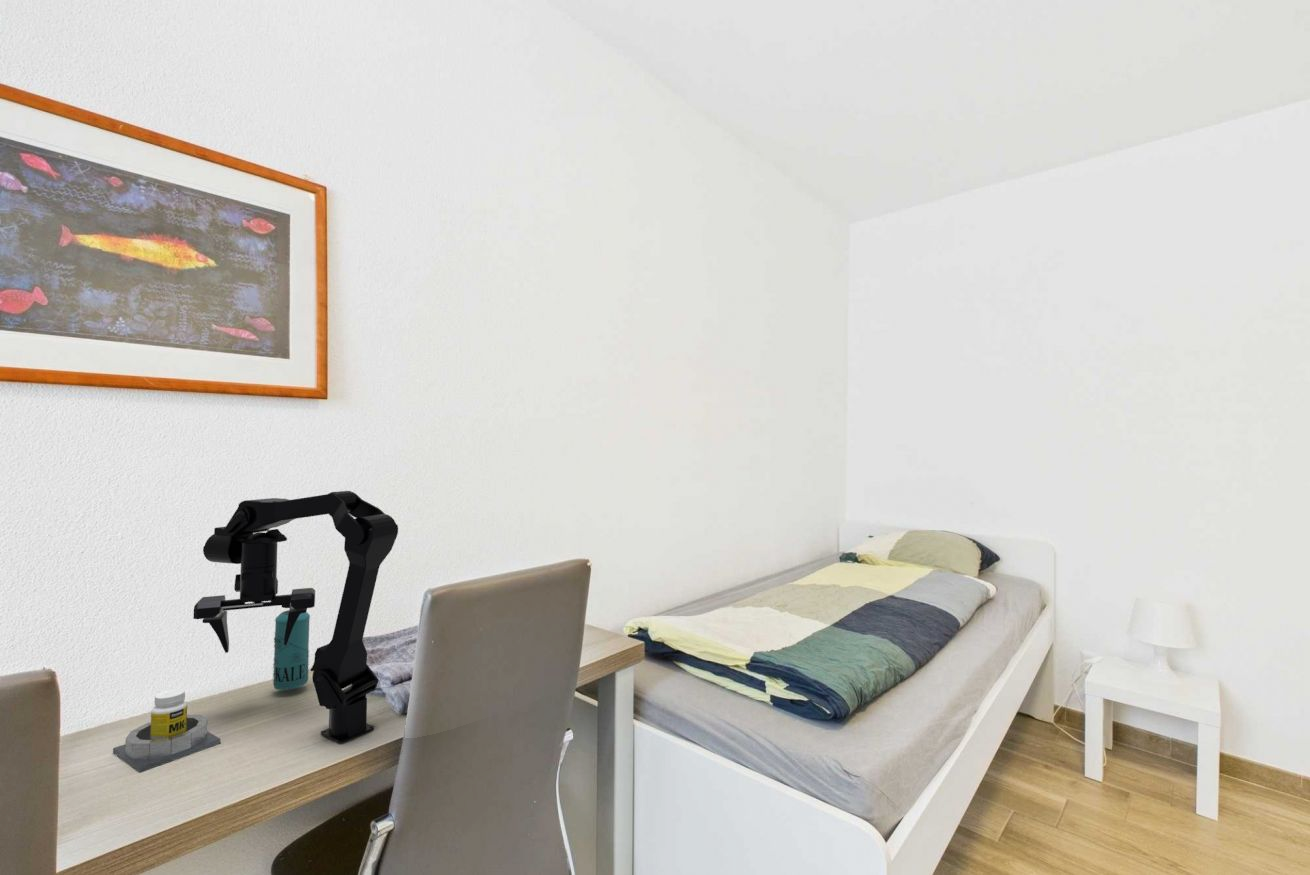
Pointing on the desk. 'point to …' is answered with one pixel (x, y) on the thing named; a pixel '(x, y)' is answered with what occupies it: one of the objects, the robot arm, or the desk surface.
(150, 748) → the ring plate
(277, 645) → the beverage bottle
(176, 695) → the supplement bottle
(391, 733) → the desk surface
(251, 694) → the desk surface
